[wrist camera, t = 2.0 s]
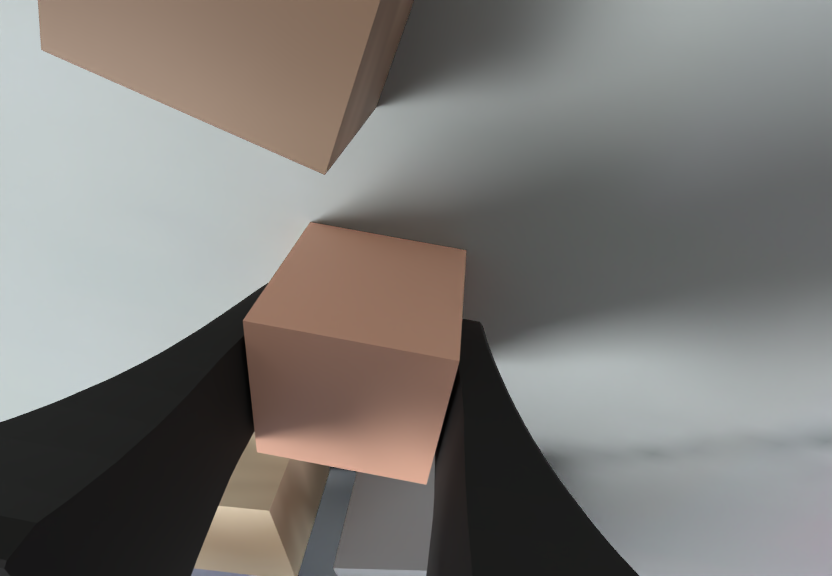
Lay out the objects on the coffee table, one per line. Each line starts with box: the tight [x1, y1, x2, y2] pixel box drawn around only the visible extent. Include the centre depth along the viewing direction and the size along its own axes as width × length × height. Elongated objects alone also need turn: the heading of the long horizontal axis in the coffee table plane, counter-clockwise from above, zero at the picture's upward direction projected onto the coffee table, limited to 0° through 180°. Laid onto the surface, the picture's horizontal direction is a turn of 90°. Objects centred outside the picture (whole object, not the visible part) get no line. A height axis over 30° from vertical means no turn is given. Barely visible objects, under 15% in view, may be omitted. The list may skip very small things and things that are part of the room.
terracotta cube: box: [243, 222, 466, 485], centre depth 11 cm, size 4×4×4 cm
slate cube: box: [333, 454, 435, 576], centre depth 16 cm, size 4×4×4 cm
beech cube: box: [194, 431, 330, 576], centre depth 15 cm, size 4×4×4 cm
